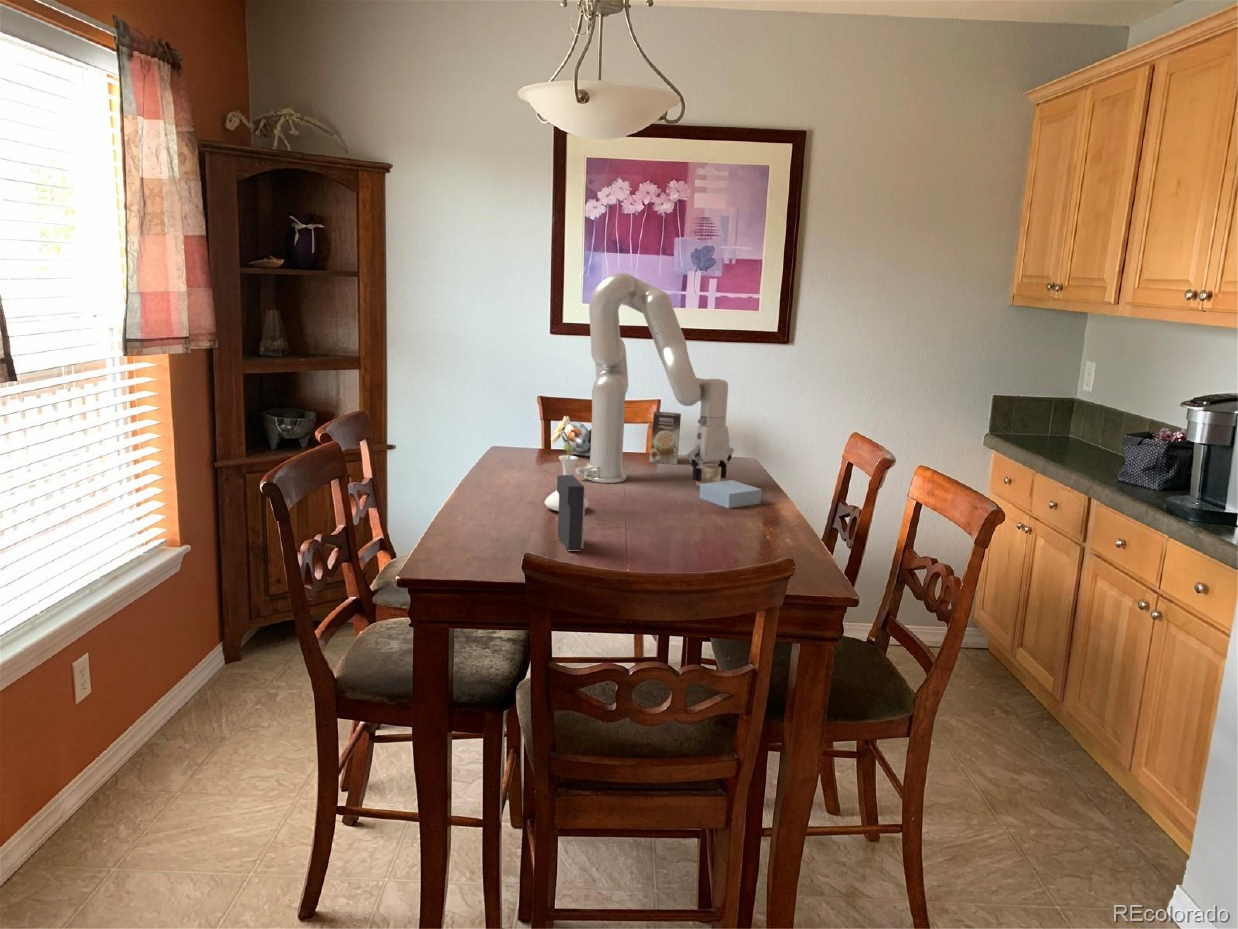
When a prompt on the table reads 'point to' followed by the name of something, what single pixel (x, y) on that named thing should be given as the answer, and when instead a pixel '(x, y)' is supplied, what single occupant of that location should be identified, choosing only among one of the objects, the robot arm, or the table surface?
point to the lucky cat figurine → (578, 438)
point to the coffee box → (665, 437)
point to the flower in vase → (567, 463)
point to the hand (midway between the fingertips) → (709, 479)
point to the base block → (730, 493)
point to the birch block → (709, 474)
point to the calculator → (571, 512)
